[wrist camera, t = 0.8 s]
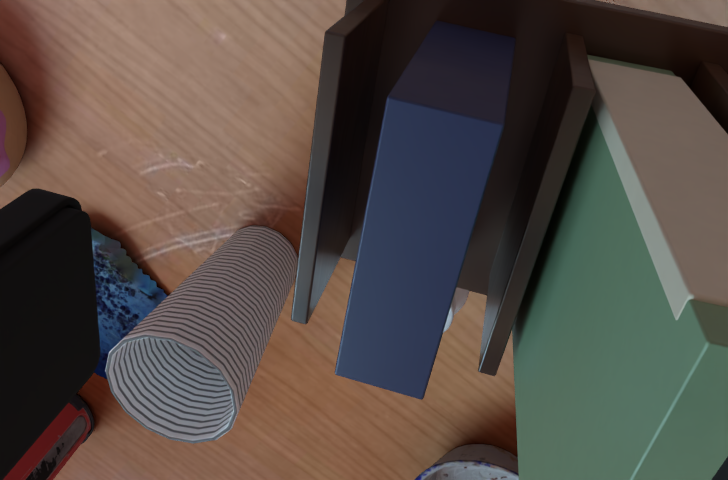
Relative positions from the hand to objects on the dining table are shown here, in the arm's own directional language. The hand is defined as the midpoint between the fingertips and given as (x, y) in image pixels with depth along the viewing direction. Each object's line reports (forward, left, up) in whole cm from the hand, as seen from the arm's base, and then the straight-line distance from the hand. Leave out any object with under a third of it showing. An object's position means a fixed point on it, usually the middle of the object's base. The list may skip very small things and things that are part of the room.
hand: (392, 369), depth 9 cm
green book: (+3, +5, -16) cm, 17 cm away
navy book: (+3, 0, -16) cm, 17 cm away
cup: (+23, -13, -34) cm, 44 cm away
